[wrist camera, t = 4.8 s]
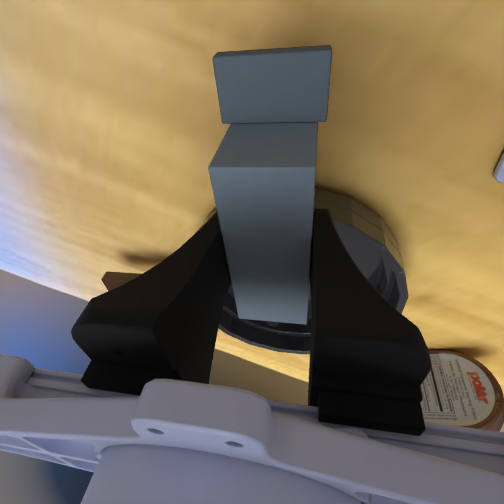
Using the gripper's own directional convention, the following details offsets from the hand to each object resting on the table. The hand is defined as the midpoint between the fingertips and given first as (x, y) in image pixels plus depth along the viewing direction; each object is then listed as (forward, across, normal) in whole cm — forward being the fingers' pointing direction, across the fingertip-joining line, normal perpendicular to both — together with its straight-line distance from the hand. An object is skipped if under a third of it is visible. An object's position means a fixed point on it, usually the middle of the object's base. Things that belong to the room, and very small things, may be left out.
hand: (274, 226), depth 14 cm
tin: (+9, -12, +25) cm, 29 cm away
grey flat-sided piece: (+2, 0, 0) cm, 2 cm away
